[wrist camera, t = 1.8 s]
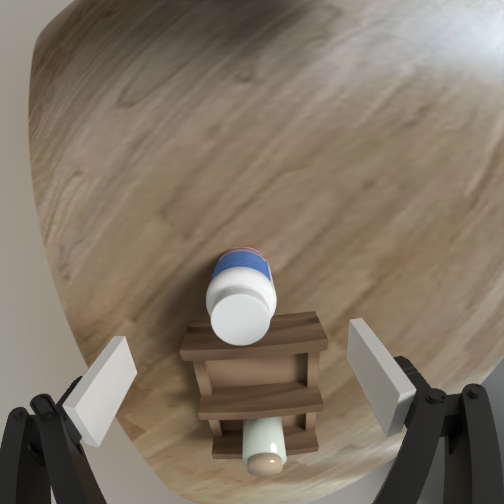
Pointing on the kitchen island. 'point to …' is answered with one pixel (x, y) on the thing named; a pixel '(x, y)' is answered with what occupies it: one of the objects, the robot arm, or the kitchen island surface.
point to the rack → (259, 381)
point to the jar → (263, 446)
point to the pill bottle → (241, 296)
